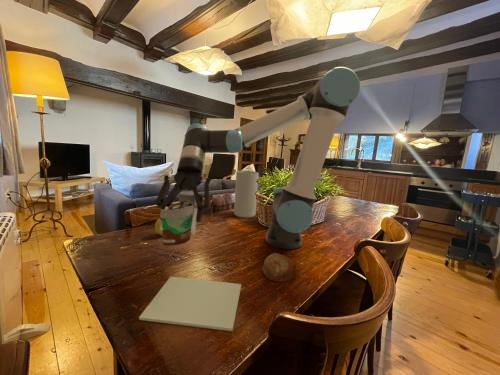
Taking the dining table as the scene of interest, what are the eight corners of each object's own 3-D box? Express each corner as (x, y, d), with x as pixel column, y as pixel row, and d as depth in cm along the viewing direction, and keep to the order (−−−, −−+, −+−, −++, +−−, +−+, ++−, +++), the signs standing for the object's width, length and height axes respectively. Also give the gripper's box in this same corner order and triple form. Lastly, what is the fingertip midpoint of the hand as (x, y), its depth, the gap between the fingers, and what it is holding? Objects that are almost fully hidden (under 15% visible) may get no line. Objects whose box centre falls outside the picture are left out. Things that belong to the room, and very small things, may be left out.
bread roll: (264, 275, 76) (256, 254, 75) (293, 263, 77) (285, 242, 75) (269, 293, 67) (260, 270, 65) (302, 280, 67) (293, 256, 65)
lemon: (172, 234, 95) (172, 216, 94) (163, 239, 90) (163, 219, 89) (161, 232, 97) (161, 214, 96) (151, 236, 92) (151, 217, 91)
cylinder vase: (256, 213, 137) (260, 172, 133) (253, 219, 125) (256, 173, 121) (236, 211, 139) (239, 170, 135) (231, 216, 127) (233, 171, 123)
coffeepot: (170, 222, 110) (171, 185, 107) (185, 218, 118) (186, 184, 115) (194, 230, 102) (195, 190, 100) (208, 225, 110) (209, 188, 108)
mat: (241, 286, 63) (241, 284, 63) (232, 331, 47) (232, 328, 47) (170, 278, 64) (170, 276, 64) (139, 319, 48) (139, 317, 48)
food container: (182, 250, 57) (183, 212, 55) (160, 247, 58) (159, 209, 56) (201, 232, 69) (202, 200, 67) (182, 229, 70) (182, 198, 68)
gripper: (223, 173, 76) (216, 239, 63) (161, 169, 75) (142, 235, 62) (223, 158, 70) (215, 228, 57) (155, 153, 68) (133, 224, 56)
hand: (177, 231), depth 59 cm, fingers closed on food container, 7 cm apart
